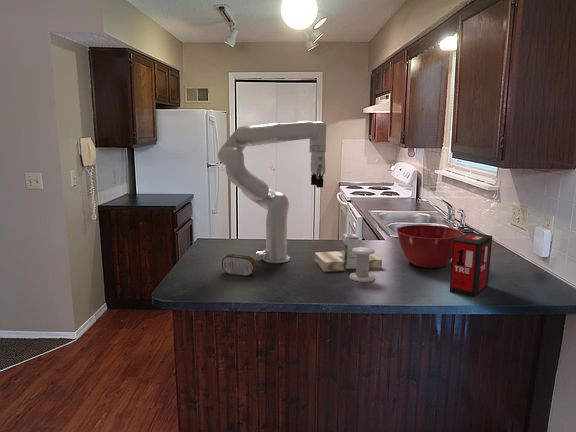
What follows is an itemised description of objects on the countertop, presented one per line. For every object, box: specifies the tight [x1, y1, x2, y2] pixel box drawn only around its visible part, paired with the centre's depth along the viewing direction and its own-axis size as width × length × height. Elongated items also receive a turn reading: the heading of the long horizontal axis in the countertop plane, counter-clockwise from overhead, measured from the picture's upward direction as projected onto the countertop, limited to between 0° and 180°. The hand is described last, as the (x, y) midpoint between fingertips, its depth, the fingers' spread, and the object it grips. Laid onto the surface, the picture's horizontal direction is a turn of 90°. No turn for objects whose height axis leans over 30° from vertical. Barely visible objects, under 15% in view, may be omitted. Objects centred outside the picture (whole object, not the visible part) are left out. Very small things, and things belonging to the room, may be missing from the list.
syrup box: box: [342, 233, 360, 270], centre depth 198 cm, size 6×6×14 cm
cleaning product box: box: [449, 232, 493, 298], centre depth 171 cm, size 16×9×20 cm, turn 140°
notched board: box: [314, 250, 383, 272], centre depth 202 cm, size 26×16×4 cm, turn 101°
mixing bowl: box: [396, 224, 464, 269], centre depth 203 cm, size 28×28×15 cm
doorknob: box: [349, 246, 376, 283], centre depth 183 cm, size 10×10×12 cm
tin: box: [221, 253, 258, 277], centre depth 187 cm, size 15×3×8 cm, turn 71°
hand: (316, 186), depth 212 cm, fingers open, 9 cm apart
